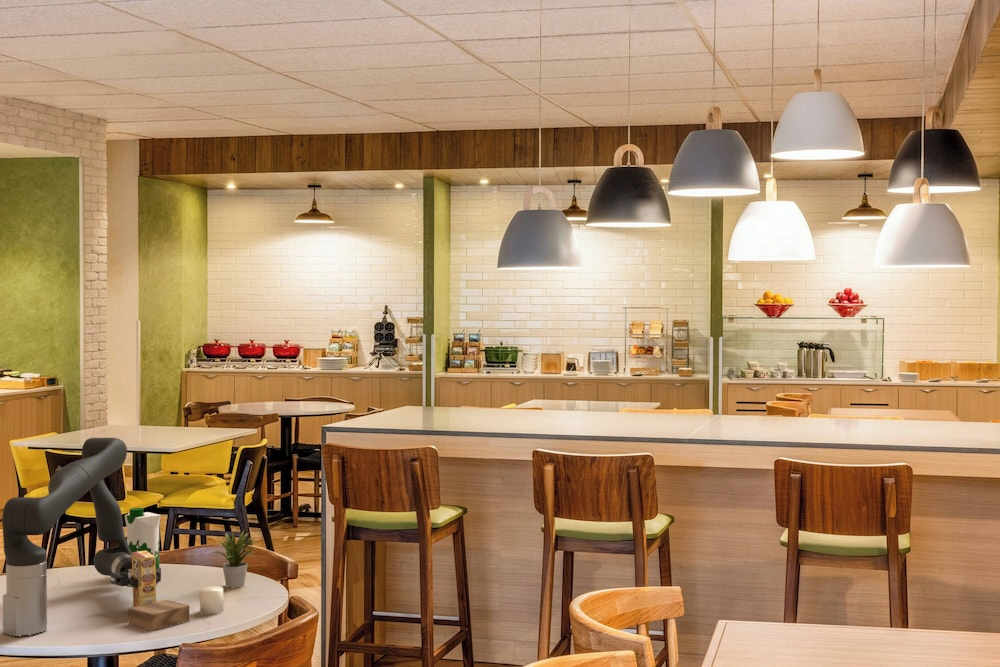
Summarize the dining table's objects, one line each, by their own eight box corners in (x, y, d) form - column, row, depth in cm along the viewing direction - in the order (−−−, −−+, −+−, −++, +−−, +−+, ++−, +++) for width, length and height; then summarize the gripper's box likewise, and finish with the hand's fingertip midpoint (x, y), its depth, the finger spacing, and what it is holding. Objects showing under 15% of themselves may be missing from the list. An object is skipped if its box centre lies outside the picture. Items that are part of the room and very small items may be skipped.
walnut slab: (153, 630, 281) (152, 614, 281) (128, 623, 287) (128, 608, 287) (189, 621, 290) (189, 605, 290) (165, 614, 296) (165, 599, 296)
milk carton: (122, 574, 342) (121, 508, 341) (149, 569, 348) (149, 504, 348) (137, 578, 336) (136, 511, 335) (164, 573, 342) (164, 507, 342)
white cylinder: (210, 615, 295) (210, 593, 295) (195, 612, 299) (195, 589, 298) (228, 610, 300) (228, 588, 300) (213, 607, 303) (213, 585, 303)
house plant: (254, 593, 319) (253, 535, 319) (205, 592, 319) (205, 535, 319) (265, 581, 333) (265, 525, 333) (218, 580, 333) (218, 525, 333)
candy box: (157, 614, 296) (156, 555, 296) (140, 616, 294) (140, 557, 294) (147, 606, 304) (147, 550, 304) (131, 609, 301) (131, 551, 301)
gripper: (101, 559, 308) (118, 571, 293) (154, 553, 315) (173, 565, 301) (102, 587, 308) (118, 600, 293) (154, 580, 316) (173, 593, 301)
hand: (146, 582), depth 297 cm, fingers closed on candy box, 4 cm apart
